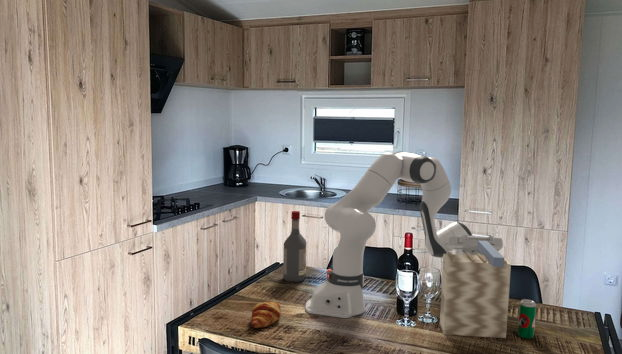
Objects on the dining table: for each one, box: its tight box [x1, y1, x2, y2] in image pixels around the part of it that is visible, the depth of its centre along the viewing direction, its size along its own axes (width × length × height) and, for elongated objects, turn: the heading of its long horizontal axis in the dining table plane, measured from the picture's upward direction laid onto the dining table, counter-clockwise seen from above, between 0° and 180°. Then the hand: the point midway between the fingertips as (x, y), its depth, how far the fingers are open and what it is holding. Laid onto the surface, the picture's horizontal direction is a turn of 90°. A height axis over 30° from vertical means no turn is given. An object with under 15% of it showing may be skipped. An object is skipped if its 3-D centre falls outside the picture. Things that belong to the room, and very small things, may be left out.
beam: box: [477, 241, 505, 267], centre depth 169 cm, size 3×22×3 cm, turn 174°
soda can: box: [517, 298, 537, 340], centre depth 166 cm, size 5×5×12 cm
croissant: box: [249, 300, 282, 329], centre depth 175 cm, size 21×10×8 cm, turn 162°
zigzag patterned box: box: [439, 251, 512, 339], centre depth 169 cm, size 20×9×26 cm, turn 84°
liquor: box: [282, 210, 307, 283], centre depth 219 cm, size 9×9×30 cm
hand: (478, 237), depth 186 cm, fingers open, 8 cm apart
